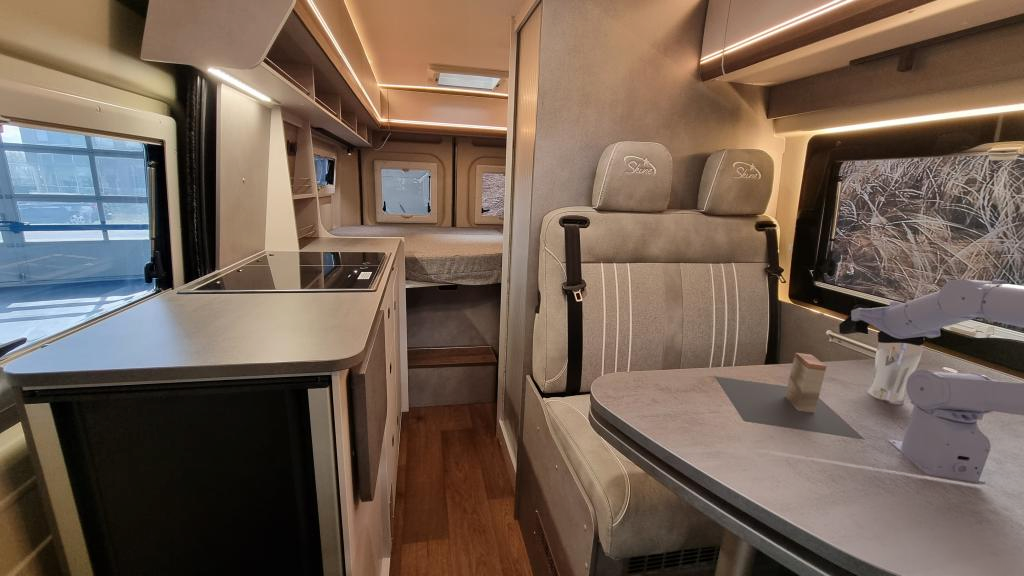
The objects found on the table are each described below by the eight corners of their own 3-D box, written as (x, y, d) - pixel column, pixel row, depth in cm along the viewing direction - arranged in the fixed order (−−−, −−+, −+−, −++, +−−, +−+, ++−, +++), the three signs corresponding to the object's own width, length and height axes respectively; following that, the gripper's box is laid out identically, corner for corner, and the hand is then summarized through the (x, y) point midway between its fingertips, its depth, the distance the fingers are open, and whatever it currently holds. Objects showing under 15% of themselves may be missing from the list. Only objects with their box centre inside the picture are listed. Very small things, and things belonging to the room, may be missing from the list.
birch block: (814, 412, 83) (826, 366, 81) (797, 410, 83) (809, 363, 81) (800, 398, 89) (811, 354, 86) (785, 396, 89) (795, 352, 87)
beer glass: (889, 392, 96) (907, 330, 93) (914, 407, 89) (935, 341, 86) (857, 389, 97) (874, 327, 93) (879, 404, 90) (899, 338, 86)
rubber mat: (864, 441, 75) (864, 439, 74) (743, 422, 78) (744, 420, 78) (809, 391, 94) (810, 389, 94) (714, 378, 97) (715, 376, 97)
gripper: (962, 303, 74) (895, 323, 87) (877, 284, 75) (824, 307, 88) (966, 341, 72) (897, 356, 85) (879, 321, 73) (824, 339, 86)
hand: (860, 333), depth 86 cm, fingers open, 7 cm apart
